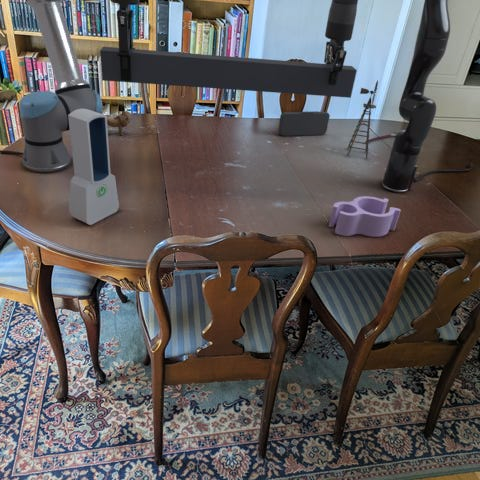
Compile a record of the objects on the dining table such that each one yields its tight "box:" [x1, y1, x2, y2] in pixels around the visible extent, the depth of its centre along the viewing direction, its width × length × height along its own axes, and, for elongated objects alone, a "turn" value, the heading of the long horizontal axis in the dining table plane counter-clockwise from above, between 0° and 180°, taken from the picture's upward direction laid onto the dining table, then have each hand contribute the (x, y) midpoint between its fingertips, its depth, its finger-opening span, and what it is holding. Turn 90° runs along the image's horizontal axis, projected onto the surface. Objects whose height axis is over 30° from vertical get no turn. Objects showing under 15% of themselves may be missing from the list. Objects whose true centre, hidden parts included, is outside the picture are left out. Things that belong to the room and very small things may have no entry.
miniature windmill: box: [346, 80, 379, 160], centre depth 186 cm, size 9×8×30 cm
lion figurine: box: [107, 110, 132, 136], centre depth 186 cm, size 15×5×9 cm, turn 110°
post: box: [99, 46, 358, 98], centre depth 136 cm, size 73×5×8 cm, turn 95°
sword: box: [368, 132, 397, 143], centre depth 214 cm, size 31×3×1 cm, turn 126°
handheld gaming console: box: [278, 110, 331, 137], centre depth 205 cm, size 23×3×10 cm, turn 108°
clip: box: [328, 195, 401, 238], centre depth 141 cm, size 20×12×7 cm, turn 109°
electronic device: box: [68, 109, 120, 226], centre depth 127 cm, size 12×8×30 cm, turn 148°
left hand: (127, 77), depth 134 cm, fingers closed on post, 5 cm apart
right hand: (329, 81), depth 140 cm, fingers closed on post, 5 cm apart
